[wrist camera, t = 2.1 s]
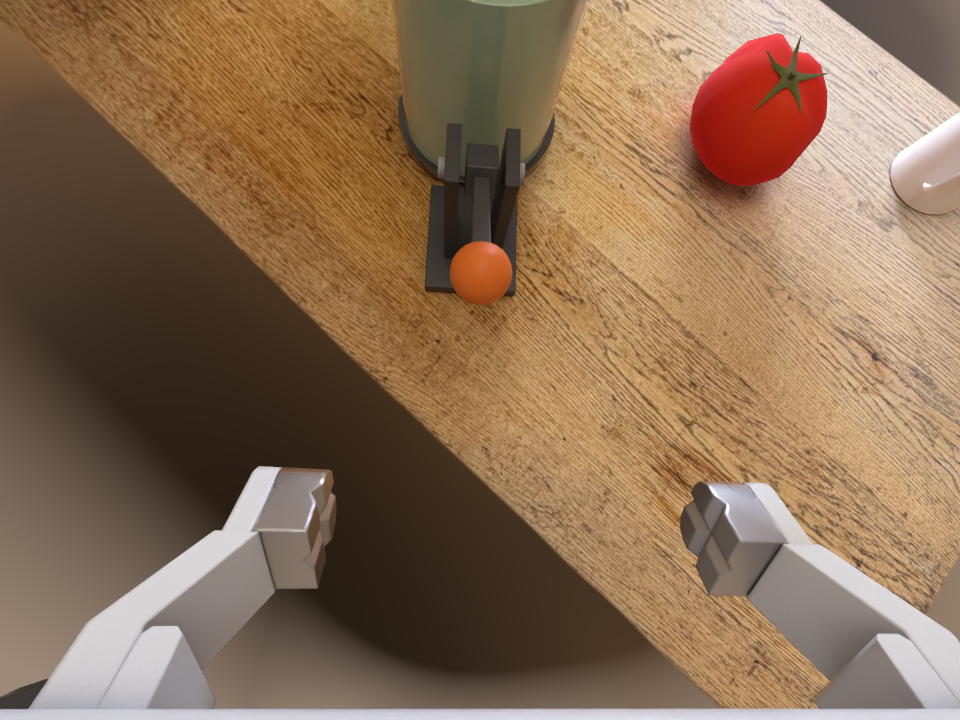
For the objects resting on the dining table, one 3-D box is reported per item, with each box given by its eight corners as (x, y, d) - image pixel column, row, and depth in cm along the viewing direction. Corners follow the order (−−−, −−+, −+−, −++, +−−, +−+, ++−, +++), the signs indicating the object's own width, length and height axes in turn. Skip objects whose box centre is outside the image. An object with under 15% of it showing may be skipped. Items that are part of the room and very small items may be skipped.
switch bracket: (513, 296, 42) (542, 227, 30) (425, 291, 42) (417, 218, 29) (515, 198, 44) (543, 95, 32) (431, 192, 44) (427, 84, 31)
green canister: (552, 197, 45) (643, -26, 24) (393, 185, 44) (349, -58, 23) (552, 65, 48) (632, -227, 28) (404, 51, 47) (375, -263, 27)
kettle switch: (508, 319, 27) (518, 275, 24) (447, 315, 27) (449, 271, 24) (503, 183, 35) (509, 137, 32) (455, 179, 35) (457, 133, 32)
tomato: (763, 98, 49) (844, 7, 39) (783, 206, 47) (876, 137, 37) (662, 95, 48) (718, 0, 38) (677, 205, 46) (742, 133, 36)
